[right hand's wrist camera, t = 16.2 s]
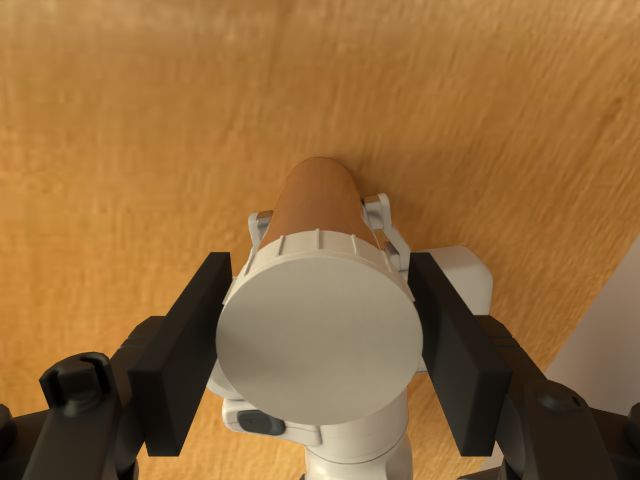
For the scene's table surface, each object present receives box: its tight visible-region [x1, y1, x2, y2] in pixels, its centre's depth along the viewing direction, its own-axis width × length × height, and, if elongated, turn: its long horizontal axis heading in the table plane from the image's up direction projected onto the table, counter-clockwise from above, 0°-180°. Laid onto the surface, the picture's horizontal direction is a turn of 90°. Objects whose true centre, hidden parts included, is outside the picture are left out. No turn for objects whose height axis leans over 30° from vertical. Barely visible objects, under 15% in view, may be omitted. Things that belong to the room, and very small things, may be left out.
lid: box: [216, 229, 423, 426], centre depth 11 cm, size 6×6×2 cm
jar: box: [256, 157, 382, 253], centre depth 19 cm, size 6×6×18 cm
